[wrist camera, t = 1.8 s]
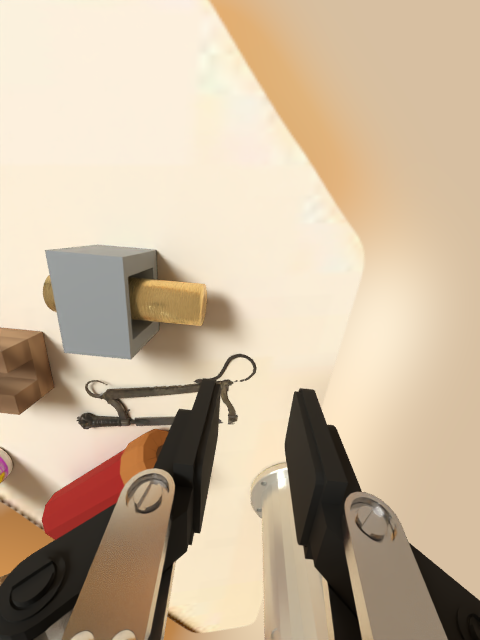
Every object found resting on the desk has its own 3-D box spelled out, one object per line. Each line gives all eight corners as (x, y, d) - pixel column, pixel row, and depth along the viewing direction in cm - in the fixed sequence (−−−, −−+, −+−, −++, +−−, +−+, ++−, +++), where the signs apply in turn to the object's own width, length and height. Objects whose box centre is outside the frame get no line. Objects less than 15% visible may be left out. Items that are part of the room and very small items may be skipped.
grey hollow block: (156, 249, 25) (122, 257, 19) (159, 329, 28) (130, 359, 22) (98, 244, 25) (45, 250, 19) (107, 324, 28) (64, 352, 22)
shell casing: (191, 448, 34) (176, 500, 28) (97, 503, 39) (66, 558, 33) (156, 415, 33) (131, 462, 26) (63, 476, 38) (23, 529, 31)
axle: (207, 280, 25) (198, 289, 21) (206, 317, 26) (197, 332, 23) (71, 267, 25) (38, 274, 22) (77, 305, 27) (47, 317, 23)
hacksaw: (83, 423, 34) (76, 432, 33) (60, 357, 31) (51, 363, 29) (258, 422, 32) (258, 431, 31) (255, 351, 29) (255, 358, 27)
